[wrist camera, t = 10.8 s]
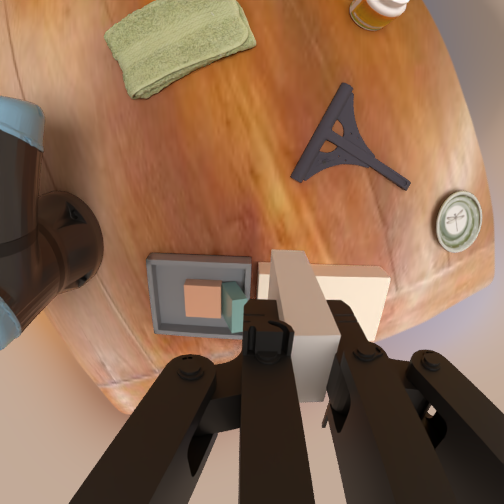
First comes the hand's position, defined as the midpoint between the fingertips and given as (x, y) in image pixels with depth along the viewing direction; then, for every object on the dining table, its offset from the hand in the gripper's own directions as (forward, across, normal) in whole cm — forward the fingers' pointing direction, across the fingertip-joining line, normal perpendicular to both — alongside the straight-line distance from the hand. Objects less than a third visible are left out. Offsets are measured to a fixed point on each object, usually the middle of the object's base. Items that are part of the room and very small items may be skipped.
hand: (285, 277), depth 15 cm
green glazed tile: (+24, -2, -16) cm, 28 cm away
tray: (+26, -8, -16) cm, 32 cm away
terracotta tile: (+24, -7, -16) cm, 29 cm away
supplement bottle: (+27, +13, +26) cm, 39 cm away
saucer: (+27, +30, -2) cm, 40 cm away
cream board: (+26, +9, -16) cm, 32 cm away
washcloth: (+27, -12, +20) cm, 36 cm away
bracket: (+27, +13, +5) cm, 31 cm away
